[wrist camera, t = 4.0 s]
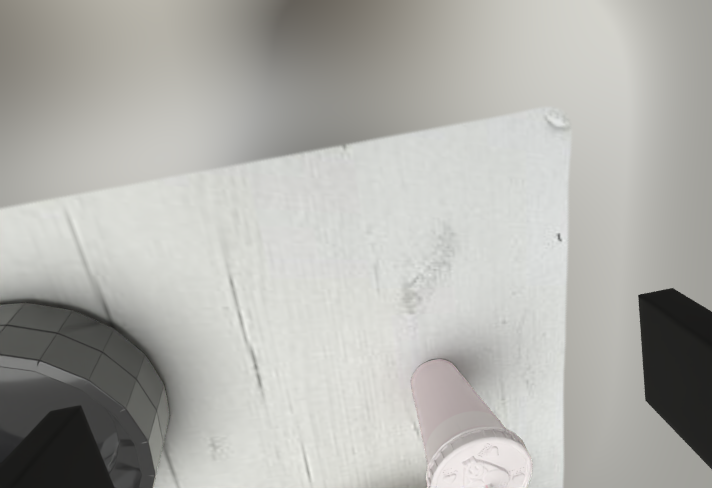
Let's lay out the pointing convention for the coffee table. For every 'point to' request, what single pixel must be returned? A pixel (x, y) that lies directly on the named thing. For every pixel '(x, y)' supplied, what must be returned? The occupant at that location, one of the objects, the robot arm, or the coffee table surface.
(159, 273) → the coffee table surface
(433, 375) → the smoothie
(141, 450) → the bowl
